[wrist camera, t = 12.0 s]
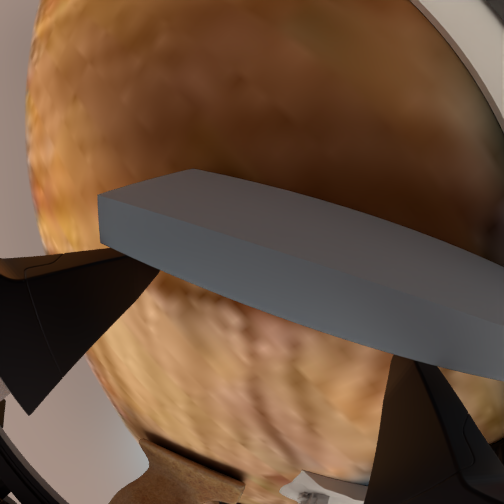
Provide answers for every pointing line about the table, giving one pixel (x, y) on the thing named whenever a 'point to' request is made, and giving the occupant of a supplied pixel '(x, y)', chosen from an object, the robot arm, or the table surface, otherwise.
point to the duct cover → (316, 265)
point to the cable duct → (474, 41)
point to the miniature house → (323, 490)
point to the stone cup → (177, 481)
